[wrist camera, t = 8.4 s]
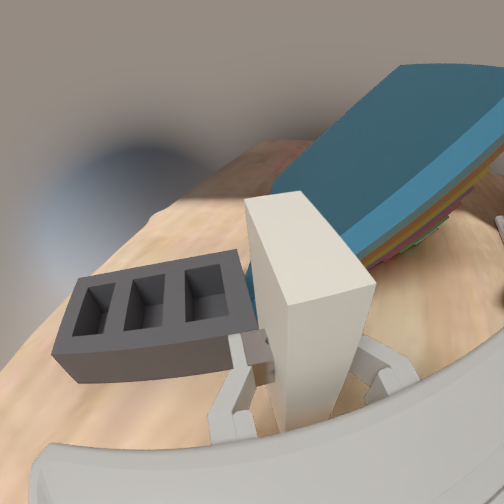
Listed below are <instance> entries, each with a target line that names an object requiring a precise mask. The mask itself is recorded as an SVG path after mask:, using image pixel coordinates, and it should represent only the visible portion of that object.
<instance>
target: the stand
mask: <svg viewBox="0 0 504 504" xmlns="http://www.w3.org/2000/svg"><path fill="white" fill-rule="evenodd" d="M254 330H259V328H258V324H257V321H256V317H255V313H254V310H253V306H252V303H251V299H250V296H249V292H248V288H247V285H246V281H245V278H244V274H243V270H242V267H241V263H240V259H239V256H238V252H237V249H234V250H229V251H223V252H218V253H212V254H207V255H201V256H196V257H190V258H185V259H179V260H174V261H169V262H163V263H158V264H152V265H147V266H142V267H136V268H131V269H125V270H120V271H115V272H109V273H104V274H99V275H94V276H88V277H83V278H78V281H77V283H76V285H75V288H74V290H73V293H72V295H71V298H70V300H69V303H68V306H67V308H66V311H65V314H64V316H63V319H62V322H61V325H60V328H59V331H58V334H57V337H56V340H55V343H54V347H53V350H52V353H51V355H52V356H53V357H54V358H55V360H56V361H57V362H58V363H59V364H60V365H61V366H62V367H63V368H64V370H65V371H66V372H67V373H68V374H69V375H70V376H71V377H72V378H73V379H74V380H75V381H76V382H77V383H116V382H133V381H146V380H157V379H166V378H175V377H183V376H191V375H198V374H205V373H211V372H217V371H223V370H229V369H234V368H233V362H232V357H231V351H230V346H229V340H228V335H231V334H237V333H240V334H241V333H242V332H248V331H254ZM241 338H242V337H241Z"/></svg>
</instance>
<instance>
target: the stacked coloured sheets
mask: <svg viewBox="0 0 504 504" xmlns="http://www.w3.org/2000/svg"><path fill="white" fill-rule="evenodd" d="M503 151H504V68H503V67H495V66H485V65H472V64H412V65H400V66H399V67H397V68H396V69H395V70H394V71H393V72H392V73H390V74H389V75H388V76H387V77H386V78H385V79H384V80H382V81H381V82H380V83H379V84H378V85H377V86H376V87H374V88H373V89H372V90H371V91H370V92H369V93H367V94H366V95H365V96H364V97H363V98H362V99H361V100H360V101H358V102H357V103H356V104H355V105H354V106H353V107H352V108H351V109H350V110H349V111H347V112H346V114H345V115H344V116H343V117H341V118H340V119H339V120H338V121H336V122H335V123H334V124H333V125H332V126H331V127H330V128H329V129H328V130H327V131H326V132H324V133H323V134H322V135H321V136H320V137H319V138H318V139H317V140H316V141H315V142H314V143H313V144H312V145H310V146H309V147H308V148H307V149H306V150H305V151H304V152H303V153H302V154H301V155H300V156H299V157H298V158H297V159H296V160H295V161H294V162H293V163H291V164H290V165H289V166H288V167H287V168H286V169H285V170H284V171H283V172H282V173H281V174H280V175H279V176H278V177H277V178H276V179H275V180H274V183H273V187H272V190H271V193H270V195H273V194H280V193H287V192H294V191H301V192H302V193H303V194H304V195H305V196H306V198H307V199H308V200H309V201H310V202H311V203H312V204H313V206H314V207H315V208H316V209H317V210H318V211H319V212H320V214H321V215H322V216H323V217H324V218H325V219H326V221H327V222H328V223H329V224H330V225H331V226H332V228H333V229H334V230H335V231H336V232H337V234H338V235H339V236H340V237H341V238H342V240H343V241H344V242H345V243H346V245H347V246H348V247H349V248H350V249H351V251H352V252H353V253H354V254H355V256H356V257H357V258H358V260H359V261H360V262H361V263H362V265H363V266H364V267H365V268H366V270H367V271H368V270H369V269H371V268H372V267H374V266H375V265H376V264H378V263H379V262H381V261H383V262H386V261H387V260H389V259H390V258H392V257H393V256H394V255H396V254H397V253H399V252H400V253H403V252H404V251H406V250H407V249H408V248H410V247H411V246H412V245H414V244H415V245H418V244H419V243H420V242H422V241H423V240H424V239H426V238H427V237H428V236H430V235H431V234H432V233H433V232H435V231H436V230H437V229H438V226H439V225H440V224H441V223H443V222H444V221H445V220H446V219H448V218H449V216H448V215H449V214H450V213H451V212H452V211H453V210H455V209H456V208H457V207H458V206H460V205H461V202H460V201H461V200H462V199H463V198H464V197H465V196H467V195H468V194H469V193H470V192H471V191H472V190H474V189H475V187H474V184H475V183H476V182H477V181H478V180H479V179H480V178H482V177H483V176H484V175H485V174H486V173H487V172H488V171H489V170H490V169H489V167H488V165H489V164H490V163H491V162H492V161H493V160H495V159H496V158H497V157H498V156H499V155H500V154H501V153H502V152H503ZM245 281H246V285H247V288H248V292H249V296H250V299H251V303H252V306H253V310H254V313H255V317H256V321H257V320H258V317H257V309H256V300H255V292H254V283H253V274H252V266H251V260H250V264H249V267H248V270H247V274H246V277H245Z"/></svg>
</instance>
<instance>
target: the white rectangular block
mask: <svg viewBox="0 0 504 504" xmlns="http://www.w3.org/2000/svg"><path fill="white" fill-rule="evenodd" d="M244 205H245V214H246V222H247V231H248V240H249V248H250V257H251V266H252V274H253V283H254V292H255V300H256V309H257V317H258V326H259V329H264V328H265V331H266V334H267V340H268V344H269V345H270V347H271V351H272V354H273V357H274V364H275V369H274V373H275V382H273V383H269V384H266V385H267V389H268V393H269V396H270V400H271V404H272V407H273V411H274V414H275V418H276V422H277V425H278V429H279V432H280V433H283V432H287V431H291V430H295V429H298V428H302V427H306V426H309V425H313V424H316V423H319V422H322V421H326V420H328V419H329V417H330V415H331V412H332V410H333V408H334V406H335V403H336V401H337V399H338V396H339V394H340V392H341V389H342V387H343V384H344V382H345V379H346V377H347V374H348V371H349V369H350V366H351V364H352V361H353V358H354V355H355V352H356V350H357V347H358V344H359V341H360V338H361V335H362V332H363V329H364V326H365V322H366V319H367V316H368V313H369V309H370V306H371V302H372V299H373V295H374V291H375V288H376V284H377V283H376V281H375V280H374V279H373V278H372V276H371V275H370V274H369V272H368V271H367V270H366V268H365V267H364V266H363V265H362V263H361V262H360V261H359V260H358V258H357V257H356V256H355V254H354V253H353V252H352V251H351V249H350V248H349V247H348V246H347V245H346V243H345V242H344V241H343V240H342V238H341V237H340V236H339V235H338V234H337V232H336V231H335V230H334V229H333V228H332V226H331V225H330V224H329V223H328V222H327V221H326V219H325V218H324V217H323V216H322V215H321V214H320V212H319V211H318V210H317V209H316V208H315V207H314V206H313V204H312V203H311V202H310V201H309V200H308V199H307V198H306V196H305V195H304V194H303V193H302V192H301V191H294V192H287V193H280V194H273V195H267V196H260V197H254V198H248V199H244Z"/></svg>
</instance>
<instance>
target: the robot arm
mask: <svg viewBox="0 0 504 504" xmlns="http://www.w3.org/2000/svg"><path fill="white" fill-rule="evenodd" d="M495 223H496V225H497V228H498V230H499V233H500V235H501V238H502V241H503V243H504V216H496V218H495ZM241 337H242V338H241ZM228 340H229V346H230V351H231V357H232V362H233V368H234V369H231V370H230V371H229V373H228V375H227V377H226V379H225V381H224V383H223V385H222V387H221V389H220V391H219V393H218V395H217V397H216V399H215V401H214V403H213V405H212V407H211V409H210V411H209V413H208V415H207V416H208V424H209V431H210V438H211V446H202V447H192V448H179V449H156V450H129V449H107V448H94V447H84V446H76V445H69V444H63V443H50V444H48V445H47V446H46V447H45V448H44V450H43V451H42V452H41V453H40V454H39V455H38V457H37V458H36V459H35V461H34V462H33V464H32V467H31V471H30V476H29V492H28V504H504V327H503V328H502V329H501V330H499V331H498V332H497V333H496V334H494V335H493V336H492V337H490V338H489V339H487V340H486V341H485V342H483V343H482V344H480V345H479V346H478V347H476V348H475V349H473V350H472V351H470V352H469V353H467V354H466V355H464V356H463V357H461V358H459V359H458V360H456V361H455V362H453V363H451V364H450V365H448V366H446V367H445V368H443V369H441V370H439V371H438V372H436V373H434V374H432V375H430V376H429V377H427V378H425V379H423V380H421V379H420V378H419V376H418V374H417V373H416V371H415V369H414V367H413V366H412V364H411V362H410V361H409V359H408V358H407V357H405V356H403V355H402V354H400V353H398V352H396V351H394V350H392V349H391V348H389V347H387V346H385V345H383V344H381V343H380V342H378V341H376V340H374V339H372V338H371V337H369V336H367V335H361V338H360V341H359V344H358V347H357V350H356V352H355V355H354V358H353V361H352V364H351V366H350V369H349V372H351V373H352V374H353V375H355V376H356V377H357V378H359V379H360V380H361V381H363V382H364V383H365V384H367V385H368V386H370V389H369V390H368V392H367V394H366V396H365V397H364V400H365V402H366V405H367V406H365V407H362V408H359V409H357V410H354V411H352V412H349V413H346V414H343V415H340V416H338V417H335V418H332V419H329V420H326V421H322V422H319V423H316V424H313V425H309V426H306V427H302V428H298V429H295V430H291V431H287V432H283V433H279V434H274V435H270V436H265V437H261V438H259V437H258V433H257V430H256V426H255V423H254V419H253V416H252V412H251V411H249V410H248V409H249V406H250V403H251V401H252V398H253V395H254V393H255V390H256V387H257V386H261V385H265V384H269V383H273V382H275V373H274V369H275V364H274V357H273V354H272V351H271V347H270V345H269V344H268V340H267V334H266V331H265V328H264V329H259V330H254V331H248V332H242V333H241V334H240V333H237V334H231V335H228Z"/></svg>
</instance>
